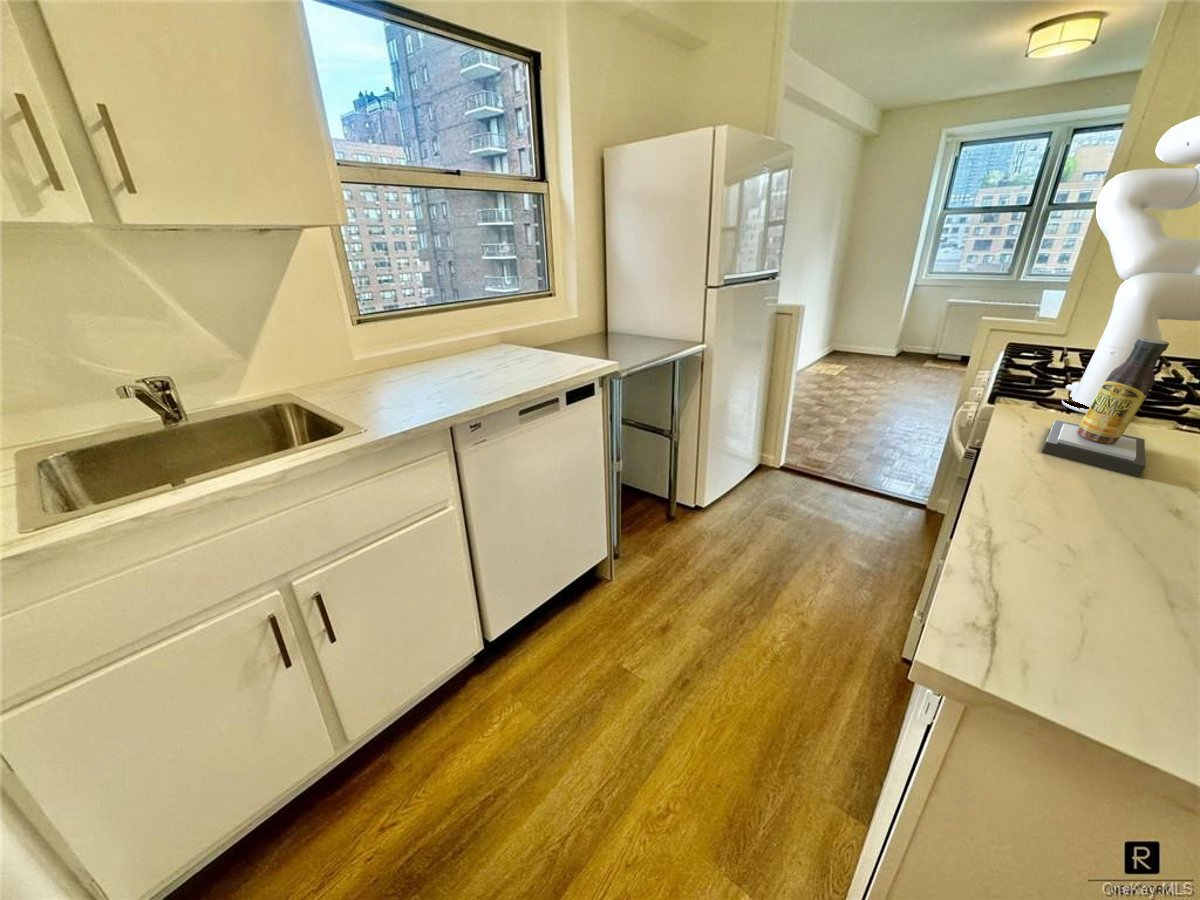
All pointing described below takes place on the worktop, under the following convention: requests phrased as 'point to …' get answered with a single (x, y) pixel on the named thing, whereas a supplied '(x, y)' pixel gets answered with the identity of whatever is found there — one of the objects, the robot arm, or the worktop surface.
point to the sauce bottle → (1122, 393)
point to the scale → (1096, 449)
